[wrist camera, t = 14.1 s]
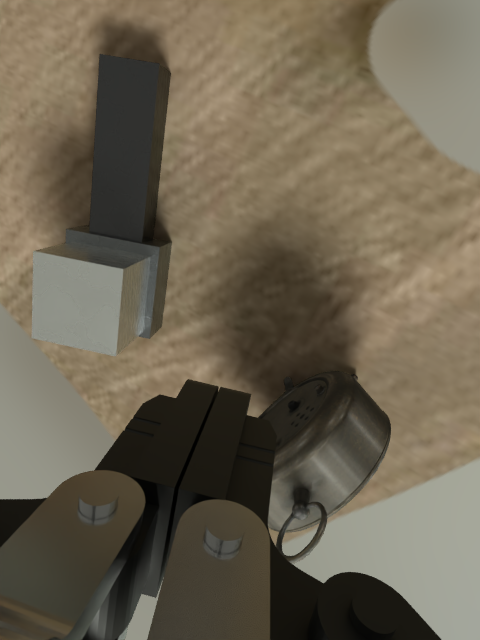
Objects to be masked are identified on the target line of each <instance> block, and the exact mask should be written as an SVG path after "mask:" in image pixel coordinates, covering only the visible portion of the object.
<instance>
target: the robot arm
mask: <svg viewBox="0 0 480 640" xmlns="http://www.w3.org/2000/svg"><path fill="white" fill-rule="evenodd" d="M250 397H251V394H249V393H245V392H240V391H236V390H232V389H228V388H223V387H220V389H219V392H218V386H215V385H210V384H206V383H202V382H198V381H193V380H189V379H188V380H187V381H186V382H185V384H184V386H183V387H182V389H181V391H180V392H179V394H178V396H177V398H172V397H168V396H164V395H158V396H156V397H154V398H152V399H151V400H149V401H147V402H145V403H143V404H142V406H141V407H140V408H139V410H138V411H137V413H136V414H135V415H134V417H133V419H131V421H130V422H129V424H128V425H127V426H126V428H125V431H123V432H122V433H121V434H120V436H119V437H118V439H117V440H116V441H115V443H114V444H113V446H112V447H111V448H110V450H109V451H108V452H107V454H106V455H105V456H104V458H103V459H102V461H101V462H100V463H99V465H98V466H97V467H96V469H95V470H94V471H88V472H84V473H81V474H78V475H75V476H73V477H71V478H69V479H67V480H66V481H64V482H63V483H62V484H60V485H59V486H58V487H57V488H56V489H55V490H54V491H53V492H52V493H51V495H50V496H49V497H48V498H43V499H14V500H13V499H6V500H5V499H3V500H2V499H0V640H125V638H126V633H127V628H128V625H129V623H130V621H131V619H132V616H133V614H134V611H135V609H136V606H137V604H138V601H139V598H140V596H141V594H144V595H148V596H152V597H155V598H156V597H157V594H158V591H159V588H160V585H161V582H162V580H163V582H162V586H161V590H160V593H159V597H158V601H157V605H156V609H155V612H154V616H153V620H152V624H151V627H150V631H149V635H148V639H147V640H441V639H440V638H439V636H438V635H437V634H436V633H435V632H434V631H433V630H432V629H431V628H430V627H429V625H428V624H427V623H426V622H425V621H424V620H423V619H422V618H421V616H420V615H419V614H418V613H417V612H416V611H415V610H414V609H413V608H412V607H411V605H410V604H409V603H408V602H407V601H406V600H405V599H404V598H403V597H402V596H401V595H400V594H399V593H398V592H396V591H395V590H394V589H393V588H392V587H390V586H388V585H387V584H385V583H384V582H382V581H380V580H378V579H376V578H374V577H372V576H369V575H366V574H361V573H356V572H345V573H340V574H337V575H334V576H333V577H331V578H329V579H328V580H327V581H326V582H325V583H322V582H320V581H318V580H317V579H315V578H313V577H312V576H310V575H308V574H306V573H305V572H303V571H301V570H300V569H298V568H297V567H295V566H294V565H292V564H291V563H290V562H289V561H288V560H287V559H286V558H285V557H284V556H283V555H282V554H281V553H280V552H279V551H278V549H277V548H276V546H275V545H274V543H273V541H272V539H271V536H270V534H269V529H268V515H269V505H270V496H271V486H272V477H273V466H274V458H275V449H276V439H277V435H276V433H275V431H274V429H273V427H272V425H271V423H270V421H269V420H264V419H260V418H256V417H252V416H248V415H247V411H248V407H249V402H250ZM163 577H164V578H163Z"/></svg>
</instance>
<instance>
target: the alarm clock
mask: <svg viewBox="0 0 480 640" xmlns="http://www.w3.org/2000/svg"><path fill="white" fill-rule="evenodd" d="M357 380H358V377H357V376H356V375H354V374H353V375H349V374H347V373H344V372H339V371H331V372H325V373H321V374H318V375H315V376H313V377H311V378H309V379H307V380H305V381H303V382H301V383H300V384H298V385H296V386H295V387H294V386H293V383H292V380H291V378H289V377H286V378H285V379H284V384H285V388H286V392H285V393H284V394H283V395H282V396H281V397H280V398H279V399H277V400H276V401H275V402H274V403H273V404H272V405H270V406H269V407H268V408H267V409H266V410H265V411H264V412H263V413H262V414H261V415H260V416H259V417H258V418H260V419H264V420H269V421H270V423H271V425H272V427H273V429H274V431H275V433H276V435H277V439H276V449H275V458H274V466H273V477H272V486H271V496H270V505H269V515H268V527H269V528H271V529H272V530H275V531H278V532H279V535H278V538H277V543H276V548H277V549H278V551H279V552H280V553H281V554H282V555H283V556H284V557H285V558H286V559H287V560H288V561H289V562H290V563H291V564H292V563H296V562H298V561H300V560H302V559H303V558H305V557H306V556H307V555H309V554H310V552H311V551H312V550H313V549H314V548H315V546H316V545H317V544H318V543H319V541H320V539H321V537H322V535H323V534H324V531H325V527H326V523H327V518H329V517H330V516H332V515H333V514H335V513H336V512H337V511H339V510H340V509H341V508H342V507H344V506H345V505H346V504H347V503H348V502H350V501H351V500H352V499H353V498H354V497H355V496H356V495H357V494H358V493H359V492H360V491H361V489H362V488H363V487H364V486H365V485H366V484H367V483H368V482H369V480H370V479H371V478H372V476H373V475H374V474H375V472H376V471H377V469H378V467H379V466H380V464H381V462H382V460H383V458H384V456H385V453H386V451H387V448H388V445H389V441H390V435H391V424H390V421H389V418H388V416H387V415H386V413H385V412H384V411H382V410H381V409H380V407H379V406H378V405H377V404H376V403H375V402H374V400H373V399H372V398H371V397H370V396H369V395H368V393H367V392H366V391H365V390H364V389H363V388H362V386H361V385H360V384H359V383H358V382H357ZM318 523H320V524H319V527H318V530H317V532H316V534H315V536H314V537H313V539H312V540H311V542H310V543H309V544H308V545H307V546H306V547H305V548H304V549H303V550H302V551H301V552H300V553H298V554H297V555H295V556H286V555H284V553H283V552H282V540H283V537H284V534H285V532H296V531H301V530H305V529H307V528H310V527H312V526H314V525H316V524H318Z"/></svg>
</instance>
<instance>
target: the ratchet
mask: <svg viewBox="0 0 480 640" xmlns="http://www.w3.org/2000/svg"><path fill="white" fill-rule="evenodd" d="M170 76H171V73H170V72H169V71H167V70H166V69H165V68H164V67H163V66H162V65H160V64H159V63H152V62H146V61H140V60H134V59H128V58H121V57H115V56H109V55H103V54H100V58H99V75H98V92H97V109H96V126H95V143H94V160H93V177H92V194H91V211H90V226H80V227H75V228H69V229H66V243H69V242H73V241H75V242H80V243H85V244H91V245H96V246H101V247H106V248H111V249H116V250H121V251H126V252H131V253H136V254H141V255H146V256H151V261H150V271H149V280H148V290H147V299H146V309H145V318H144V328H143V332H142V333H141V334H140V335H139V337H144V338H149V339H150V338H151V337H152V336H153V335H154V334H155V333H156V332H157V331H158V330H159V329H160V328H161V327H162V320H163V312H164V303H165V295H166V287H167V279H168V270H169V262H170V254H171V245H172V242H168V241H163V240H158V239H153V236H154V227H155V217H156V208H157V199H158V189H159V180H160V170H161V161H162V151H163V142H164V133H165V123H166V114H167V104H168V95H169V85H170Z"/></svg>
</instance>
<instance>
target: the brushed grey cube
mask: <svg viewBox="0 0 480 640" xmlns="http://www.w3.org/2000/svg"><path fill="white" fill-rule="evenodd" d="M150 261H151V256H146V255H141V254H136V253H131V252H126V251H121V250H116V249H111V248H106V247H101V246H96V245H91V244H85V243H80V242H75V241H73V242H69V243H65V244H61V245H56V246H52V247H48V248H44V249H40V250H36V251H33V298H32V338H34V339H38V340H43V341H48V342H52V343H57V344H61V345H66V346H70V347H75V348H80V349H84V350H89V351H93V352H98V353H102V354H107V355H112V356H117V355H118V354H119V353H120V352H121V351H123V350H124V349H125V348H126V347H127V346H128V345H129V344H130V343H131V342H132V341H134V340H135V339H136V338H137V337H138V336H139V335H140V334H141V333H142V332H143V328H144V318H145V309H146V299H147V290H148V280H149V271H150Z"/></svg>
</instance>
